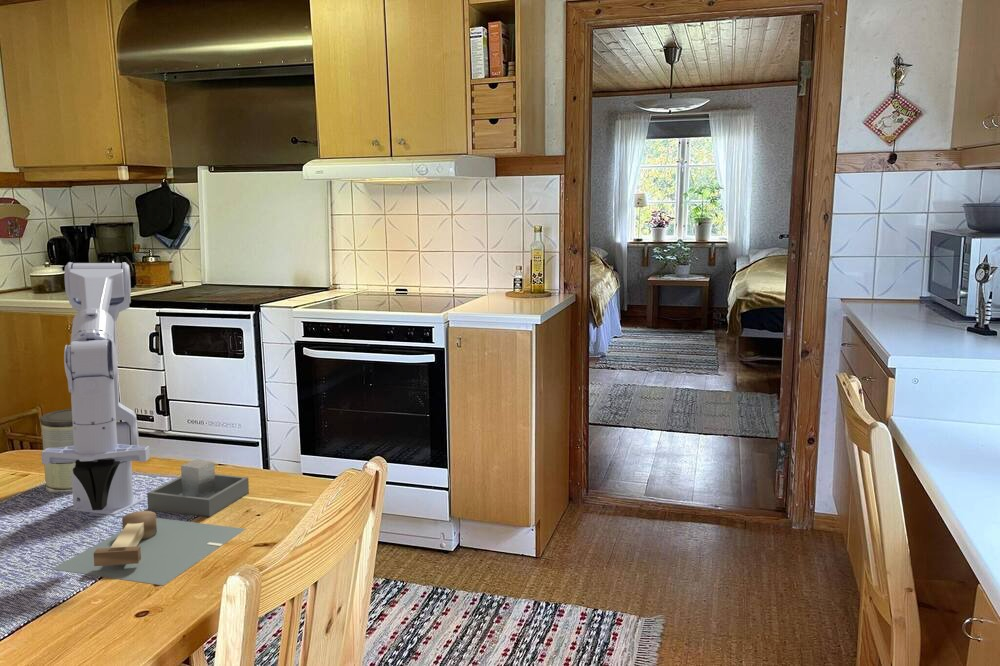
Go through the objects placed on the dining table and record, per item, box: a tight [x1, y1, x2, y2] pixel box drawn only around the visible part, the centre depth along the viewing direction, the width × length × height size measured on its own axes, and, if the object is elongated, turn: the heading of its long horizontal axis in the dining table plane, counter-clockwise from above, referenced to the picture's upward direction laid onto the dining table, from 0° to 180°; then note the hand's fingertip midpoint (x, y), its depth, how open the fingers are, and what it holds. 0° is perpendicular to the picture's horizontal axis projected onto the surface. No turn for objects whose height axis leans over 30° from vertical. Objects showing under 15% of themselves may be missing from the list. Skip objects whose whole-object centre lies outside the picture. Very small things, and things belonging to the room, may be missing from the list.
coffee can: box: [39, 408, 76, 494], centre depth 148 cm, size 10×10×14 cm
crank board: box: [51, 517, 246, 587], centre depth 120 cm, size 19×21×1 cm
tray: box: [146, 473, 250, 518], centre depth 140 cm, size 12×12×4 cm
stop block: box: [180, 459, 216, 498], centre depth 140 cm, size 4×4×7 cm
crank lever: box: [93, 510, 157, 566], centre depth 120 cm, size 16×6×3 cm, turn 11°
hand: (99, 507), depth 115 cm, fingers closed
